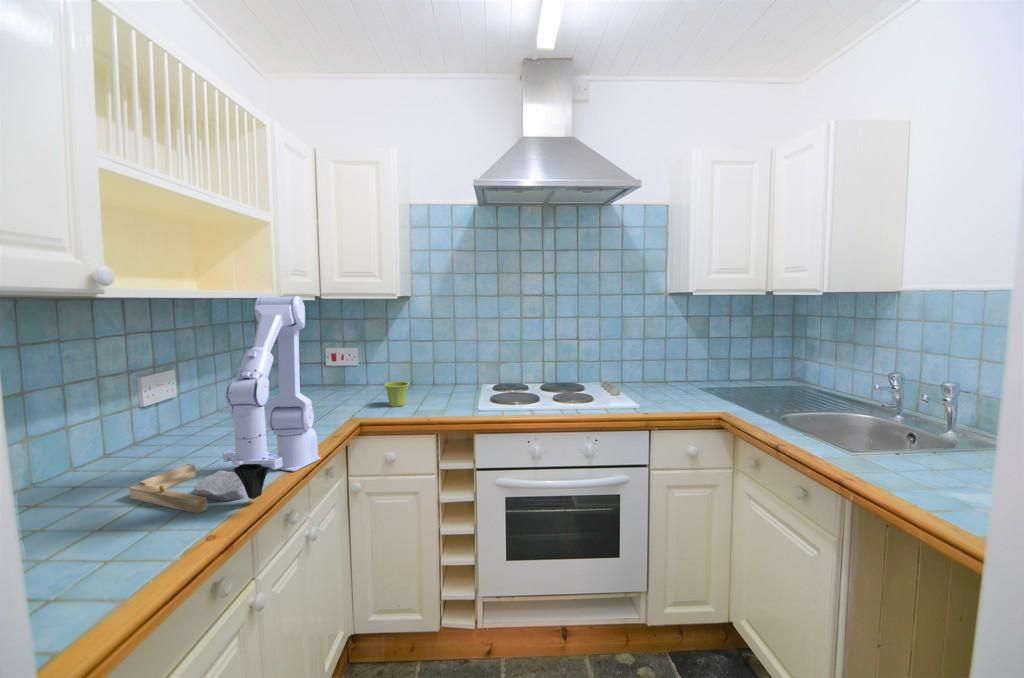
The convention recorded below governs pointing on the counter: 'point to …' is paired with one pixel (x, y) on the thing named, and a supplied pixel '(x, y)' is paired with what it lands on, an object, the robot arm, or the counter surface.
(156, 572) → the counter surface
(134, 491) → the fence
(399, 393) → the plant pot
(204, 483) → the stone block
